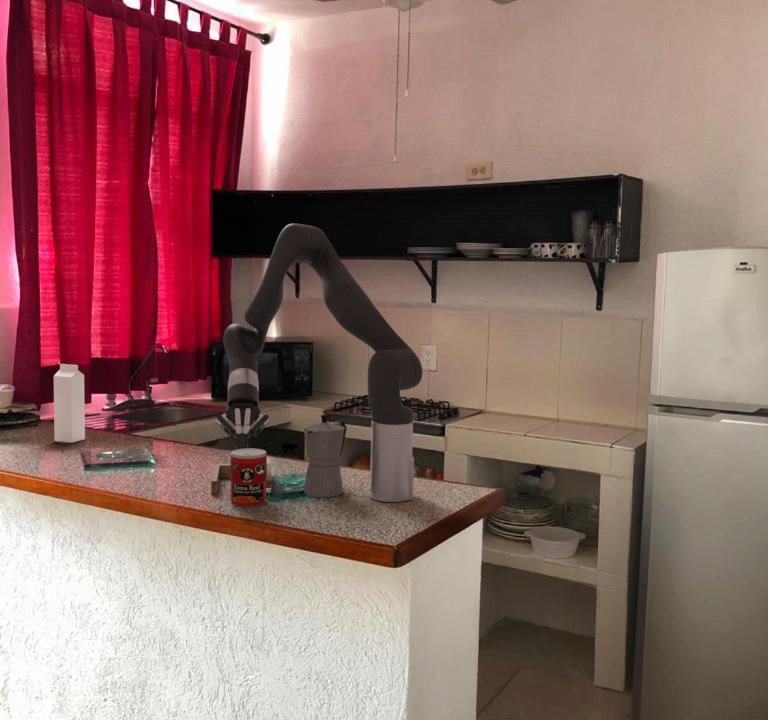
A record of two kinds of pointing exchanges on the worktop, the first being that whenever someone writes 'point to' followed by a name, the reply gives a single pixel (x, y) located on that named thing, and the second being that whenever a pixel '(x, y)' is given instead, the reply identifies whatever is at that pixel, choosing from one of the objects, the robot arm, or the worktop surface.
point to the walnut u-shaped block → (225, 471)
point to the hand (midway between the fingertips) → (242, 450)
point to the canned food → (248, 476)
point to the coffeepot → (324, 458)
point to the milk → (69, 404)
